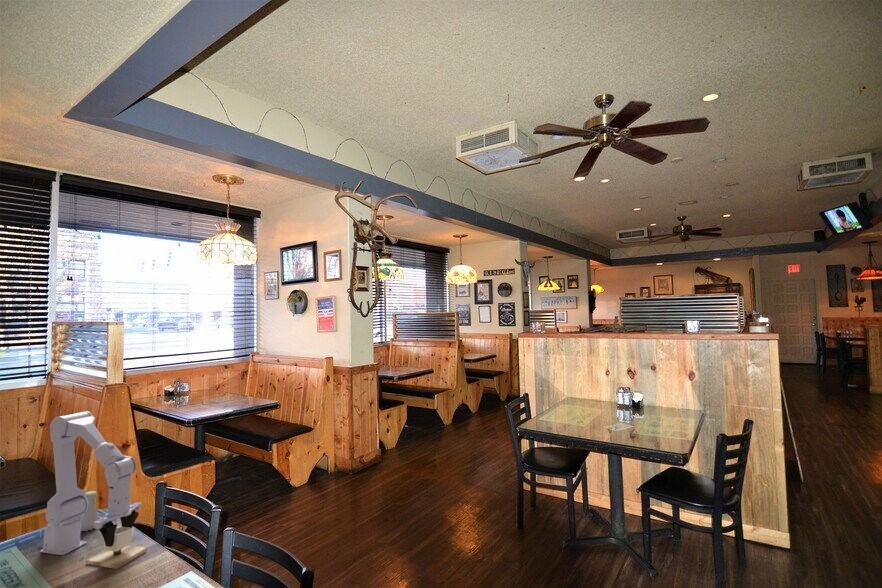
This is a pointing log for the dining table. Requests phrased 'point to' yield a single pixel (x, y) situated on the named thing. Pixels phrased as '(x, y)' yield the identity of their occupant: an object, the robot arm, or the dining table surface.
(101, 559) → the roll holder
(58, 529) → the robot arm
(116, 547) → the hollow square tube
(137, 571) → the dining table surface
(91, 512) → the salt shaker
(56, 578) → the dining table surface
